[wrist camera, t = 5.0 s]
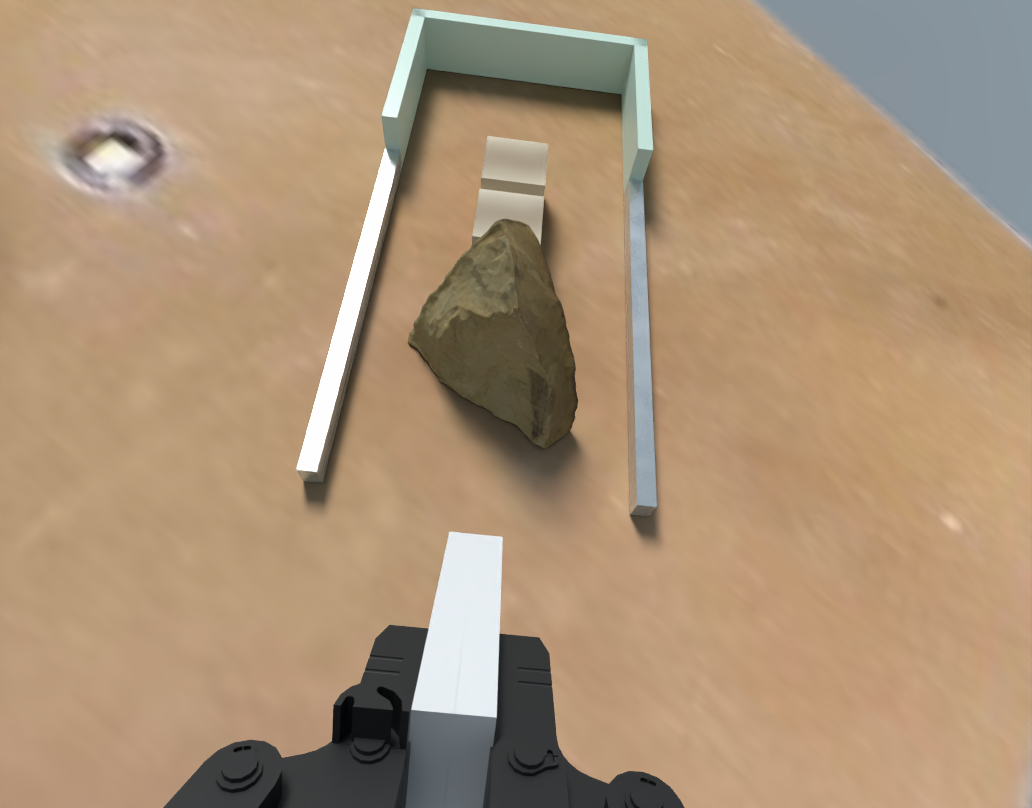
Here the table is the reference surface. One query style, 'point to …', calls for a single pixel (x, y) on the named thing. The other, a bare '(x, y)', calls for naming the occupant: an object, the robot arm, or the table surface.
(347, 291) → the slot rails
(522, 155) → the beige cube
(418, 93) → the tray pen
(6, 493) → the table surface
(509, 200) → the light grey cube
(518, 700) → the robot arm
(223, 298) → the table surface
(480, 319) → the rock
